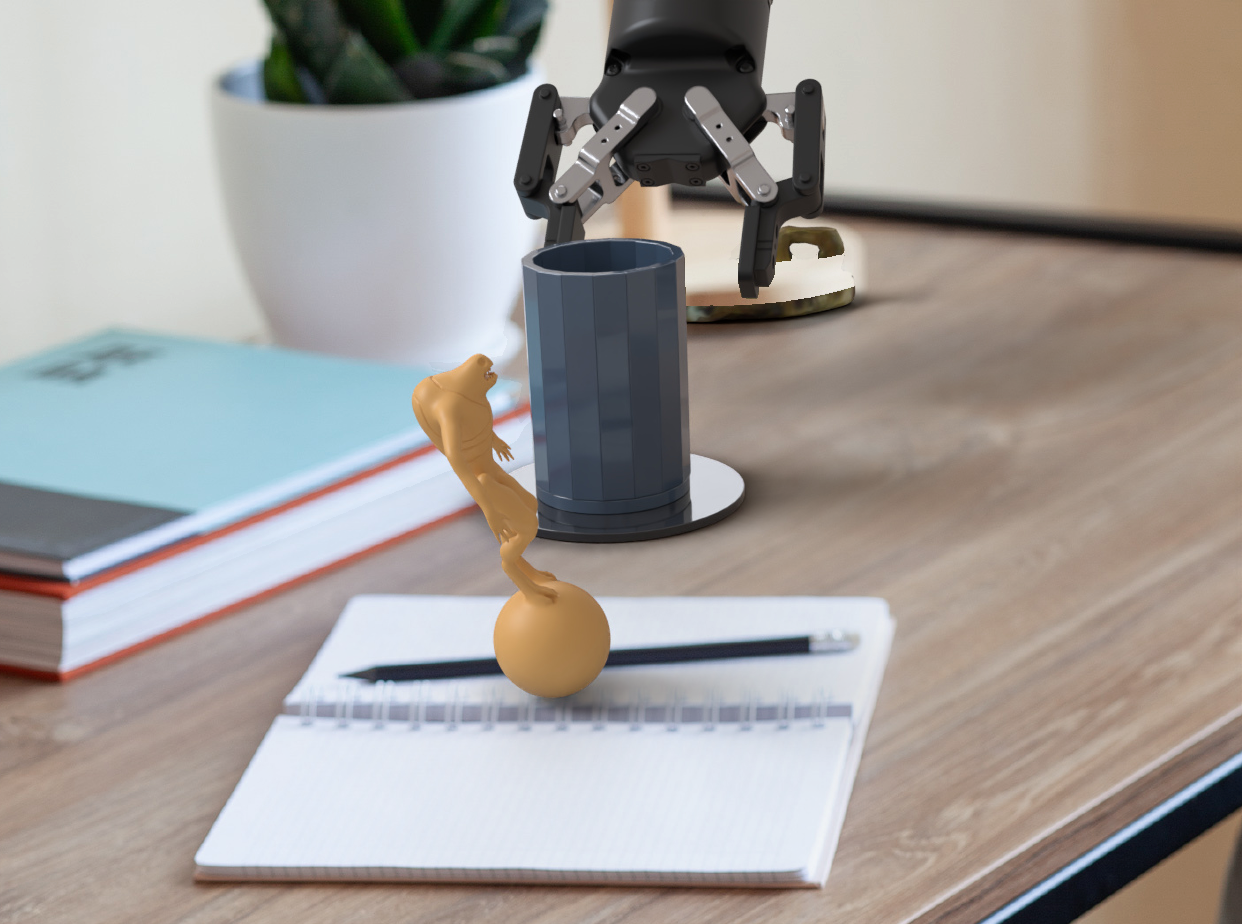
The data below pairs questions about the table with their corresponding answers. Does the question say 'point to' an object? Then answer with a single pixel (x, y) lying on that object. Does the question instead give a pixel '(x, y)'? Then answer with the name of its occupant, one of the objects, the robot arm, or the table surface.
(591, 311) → the cup
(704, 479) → the coaster
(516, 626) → the figurine
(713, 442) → the table surface
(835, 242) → the seal
